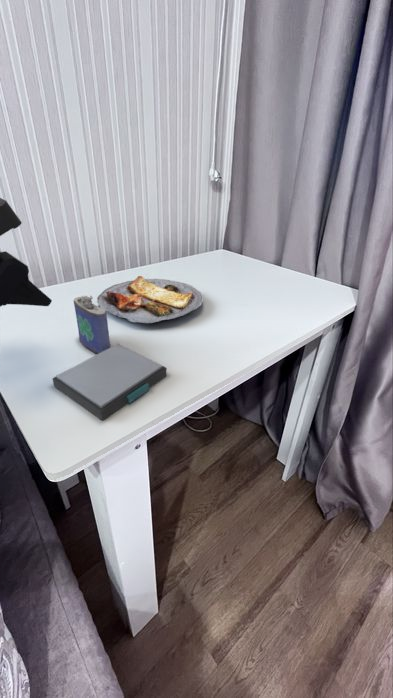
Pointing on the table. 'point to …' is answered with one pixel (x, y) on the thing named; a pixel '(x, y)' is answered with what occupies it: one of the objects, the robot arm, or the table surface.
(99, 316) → the flask
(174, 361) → the table surface
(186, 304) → the food plate
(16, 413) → the table surface
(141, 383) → the scale
